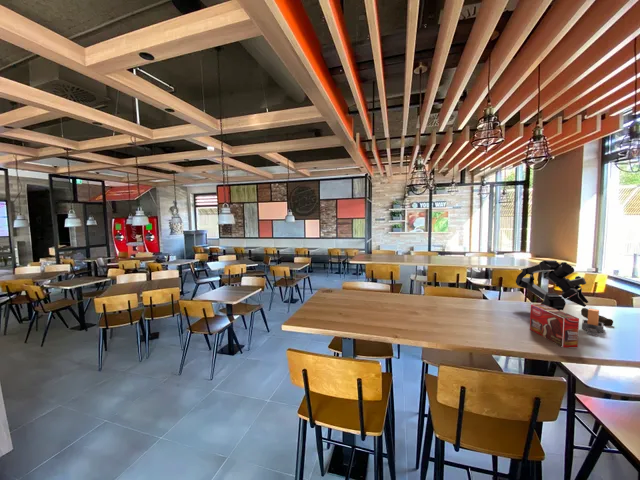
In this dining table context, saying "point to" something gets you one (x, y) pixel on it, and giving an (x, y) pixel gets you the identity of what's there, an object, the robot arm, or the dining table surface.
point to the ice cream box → (554, 325)
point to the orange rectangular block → (593, 316)
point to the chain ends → (592, 327)
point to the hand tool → (601, 319)
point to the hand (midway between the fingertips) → (586, 304)
